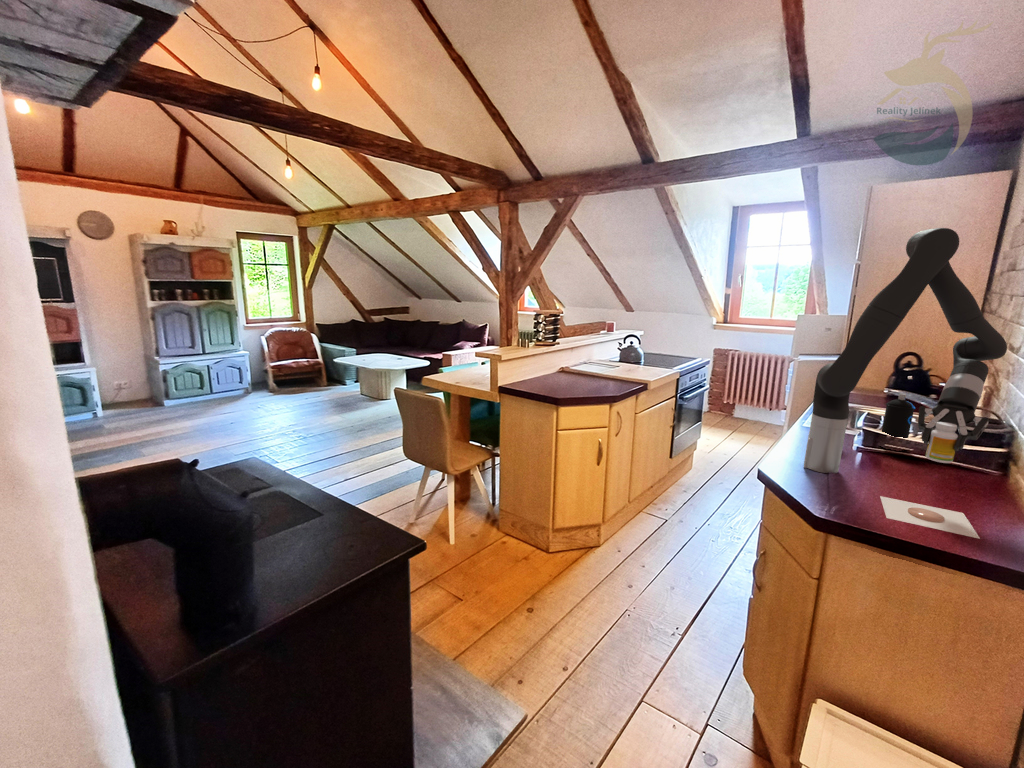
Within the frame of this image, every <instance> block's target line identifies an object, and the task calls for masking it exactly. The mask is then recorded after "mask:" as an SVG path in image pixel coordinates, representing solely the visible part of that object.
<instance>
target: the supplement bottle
mask: <svg viewBox="0 0 1024 768" xmlns="http://www.w3.org/2000/svg"><path fill="white" fill-rule="evenodd" d="M936 428H937V429H935V430H932V431H931V434H930V438H929V442H928V444H927V446H926V447H927V448H926V452H925V458H926V459H928V460H931V461H933V462H937V463H941V464H942V463H943V464H951V463H953V461H954V458H955V455H956V451H955V450H954V447H955V444H956V441H957V438H958V436H959V434H958V433H956V432H957V430H958V428H957V425H955V424H952V423H947V422H937V423H936Z"/></svg>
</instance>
